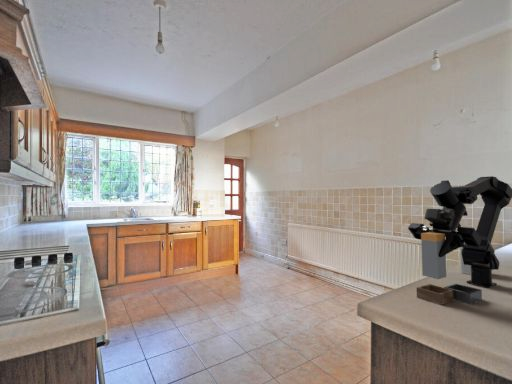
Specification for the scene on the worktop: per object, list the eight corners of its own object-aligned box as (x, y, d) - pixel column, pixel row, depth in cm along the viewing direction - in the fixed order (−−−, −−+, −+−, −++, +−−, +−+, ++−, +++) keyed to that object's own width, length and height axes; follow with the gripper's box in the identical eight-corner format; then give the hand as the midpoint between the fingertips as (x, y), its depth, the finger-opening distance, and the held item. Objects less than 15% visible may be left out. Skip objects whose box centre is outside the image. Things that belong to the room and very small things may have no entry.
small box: (480, 276, 103) (479, 242, 103) (460, 272, 108) (459, 240, 109) (487, 273, 108) (486, 240, 108) (468, 269, 113) (467, 238, 113)
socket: (456, 292, 86) (455, 283, 86) (482, 299, 80) (481, 289, 80) (444, 296, 83) (443, 287, 83) (470, 304, 77) (470, 294, 77)
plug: (430, 273, 85) (429, 232, 85) (446, 276, 81) (444, 233, 81) (422, 275, 83) (421, 233, 83) (438, 279, 79) (436, 234, 79)
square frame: (429, 293, 86) (429, 283, 86) (453, 300, 80) (453, 290, 80) (416, 297, 83) (416, 287, 83) (440, 304, 77) (440, 294, 77)
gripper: (410, 199, 92) (390, 234, 87) (474, 199, 76) (454, 242, 71) (425, 221, 96) (406, 255, 91) (489, 225, 79) (470, 268, 74)
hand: (430, 254), depth 81 cm, fingers closed on plug, 4 cm apart
